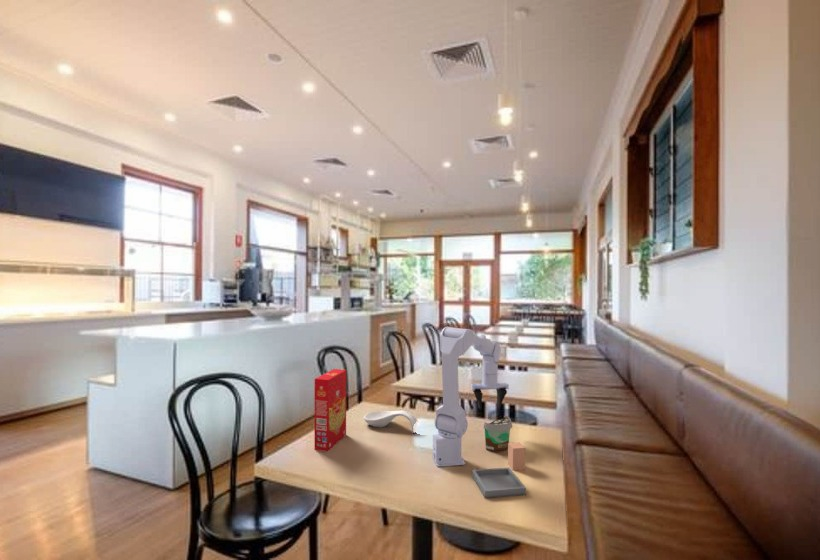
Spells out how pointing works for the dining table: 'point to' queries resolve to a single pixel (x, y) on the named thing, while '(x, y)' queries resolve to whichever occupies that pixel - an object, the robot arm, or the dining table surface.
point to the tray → (498, 482)
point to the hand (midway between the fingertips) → (489, 407)
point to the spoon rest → (387, 417)
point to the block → (516, 456)
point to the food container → (497, 434)
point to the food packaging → (330, 409)
